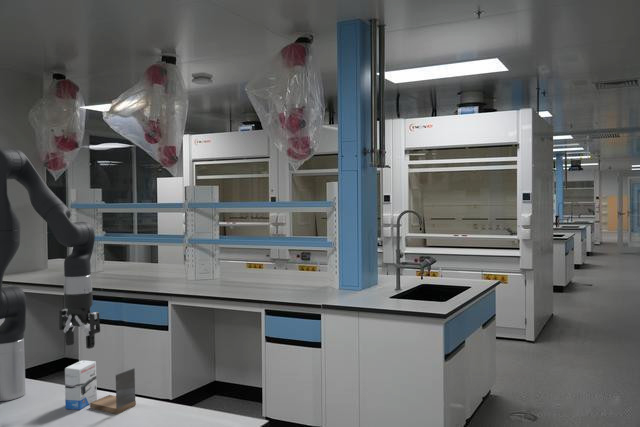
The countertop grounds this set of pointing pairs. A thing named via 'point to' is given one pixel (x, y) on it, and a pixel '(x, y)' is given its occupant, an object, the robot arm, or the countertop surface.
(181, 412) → the countertop surface
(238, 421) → the countertop surface
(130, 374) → the wooden base bookend
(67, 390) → the ink box
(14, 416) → the countertop surface
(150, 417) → the countertop surface
